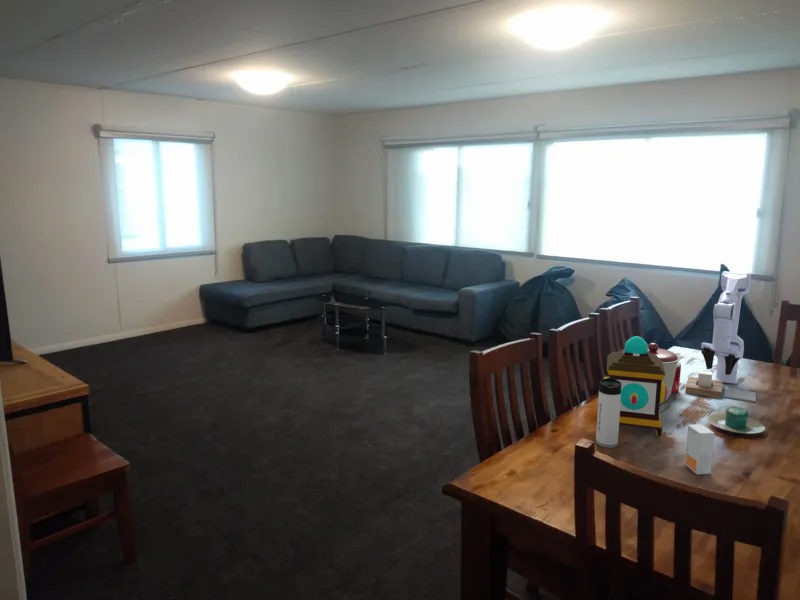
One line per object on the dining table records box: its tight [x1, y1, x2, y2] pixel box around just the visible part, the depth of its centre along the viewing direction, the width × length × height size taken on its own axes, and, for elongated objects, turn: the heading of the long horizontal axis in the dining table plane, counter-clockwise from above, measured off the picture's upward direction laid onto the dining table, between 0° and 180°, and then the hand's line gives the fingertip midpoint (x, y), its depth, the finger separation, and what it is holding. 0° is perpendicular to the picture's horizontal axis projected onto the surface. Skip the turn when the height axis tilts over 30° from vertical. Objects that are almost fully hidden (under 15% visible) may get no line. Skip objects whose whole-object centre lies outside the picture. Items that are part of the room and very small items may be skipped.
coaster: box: [724, 388, 757, 403], centre depth 216 cm, size 10×10×1 cm
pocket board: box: [684, 376, 724, 399], centre depth 222 cm, size 14×12×2 cm
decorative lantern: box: [602, 335, 667, 438], centre depth 188 cm, size 20×20×30 cm
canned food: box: [671, 361, 682, 394], centre depth 221 cm, size 8×8×11 cm
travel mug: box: [595, 378, 621, 449], centre depth 174 cm, size 6×7×20 cm
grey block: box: [697, 369, 713, 387], centre depth 222 cm, size 4×4×7 cm
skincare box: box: [684, 423, 715, 475], centre depth 158 cm, size 6×4×12 cm
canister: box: [647, 342, 681, 403], centre depth 212 cm, size 18×18×21 cm
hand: (718, 371), depth 213 cm, fingers open, 7 cm apart
